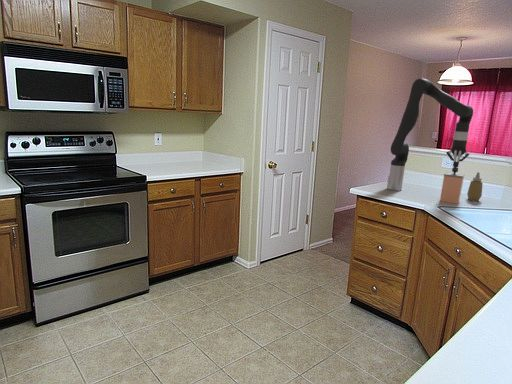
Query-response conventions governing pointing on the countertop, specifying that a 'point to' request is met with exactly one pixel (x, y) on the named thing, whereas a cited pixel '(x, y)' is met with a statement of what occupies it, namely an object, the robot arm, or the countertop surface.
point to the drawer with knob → (454, 173)
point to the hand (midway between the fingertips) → (455, 167)
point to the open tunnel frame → (451, 189)
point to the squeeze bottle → (475, 188)
